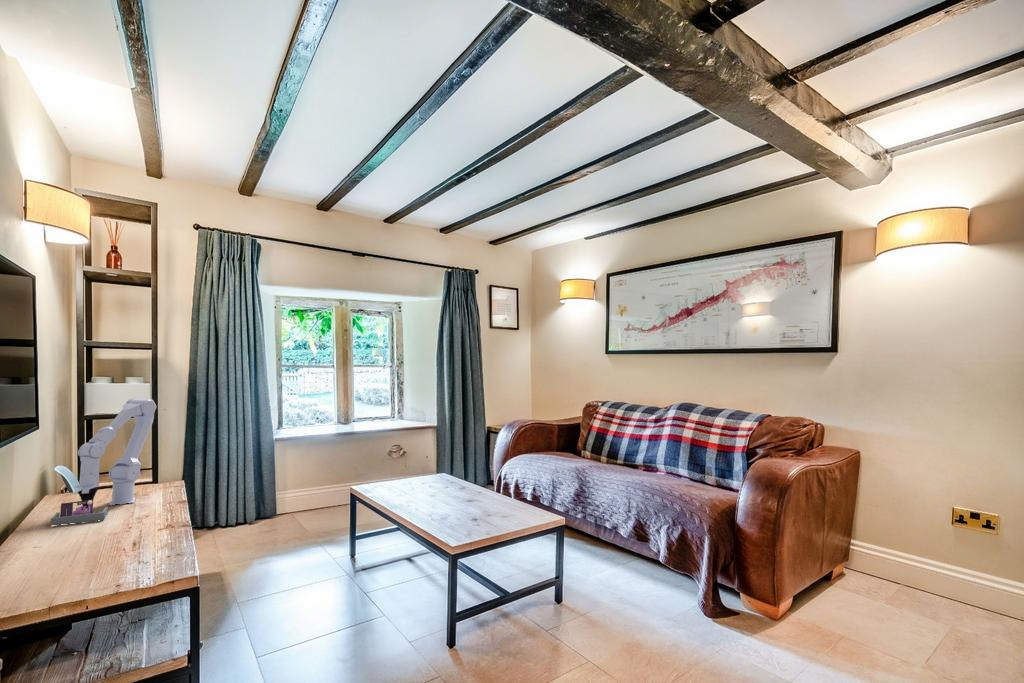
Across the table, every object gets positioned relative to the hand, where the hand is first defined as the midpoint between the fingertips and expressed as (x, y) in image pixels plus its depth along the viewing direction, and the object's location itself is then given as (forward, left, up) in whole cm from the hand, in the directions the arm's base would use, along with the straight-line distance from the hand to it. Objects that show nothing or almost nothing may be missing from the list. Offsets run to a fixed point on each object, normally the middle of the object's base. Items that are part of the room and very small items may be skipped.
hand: (87, 508), depth 187 cm
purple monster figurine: (+9, -2, -2) cm, 9 cm away
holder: (+13, 0, -1) cm, 13 cm away
